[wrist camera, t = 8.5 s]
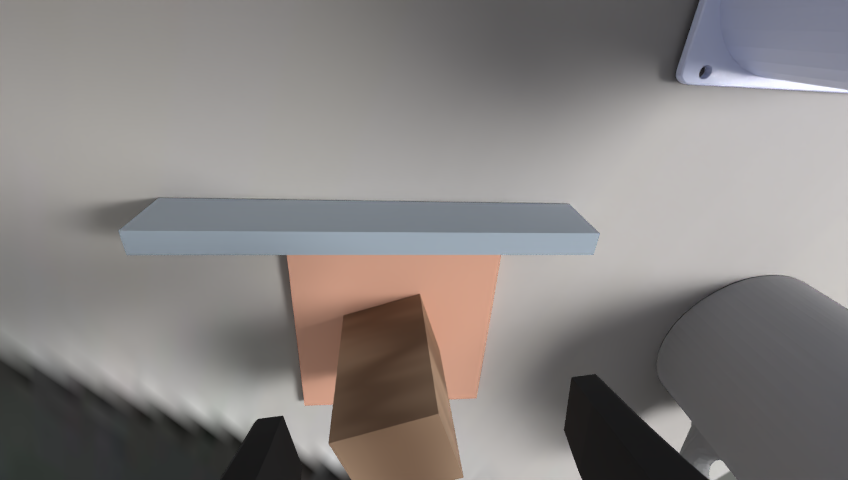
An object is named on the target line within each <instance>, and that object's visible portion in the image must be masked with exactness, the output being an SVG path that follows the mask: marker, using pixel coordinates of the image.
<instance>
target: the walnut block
mask: <svg viewBox="0 0 848 480" xmlns="http://www.w3.org/2000/svg"><path fill="white" fill-rule="evenodd" d="M329 445H330V447H331V448H332V450H333V451H334V453H335V454H336V456H337V458H338V459H339V461H340V462H341V464H342V465H343V467H344V468H345V470H346V472H347V473H348V475H349V476H350V478H351V479H352V480H455V479H459V478H463V472H462V467H461V461H460V456H459V451H458V445H457V440H456V435H455V430H454V424H453V419H452V414H451V408H450V403H449V398H448V392H447V387H446V382H445V376H444V371H443V366H442V360H441V355H440V350H439V347H438V344H437V341H436V338H435V335H434V333H433V330H432V327H431V324H430V321H429V318H428V315H427V312H426V309H425V307H424V304H423V301H422V298H421V295H420V294H417V295H413V296H410V297H406V298H403V299H399V300H396V301H392V302H389V303H385V304H382V305H378V306H375V307H371V308H368V309H364V310H361V311H357V312H354V313H350V314H347V315H343V323H342V332H341V341H340V349H339V358H338V366H337V375H336V384H335V392H334V401H333V410H332V418H331V427H330V436H329Z"/></svg>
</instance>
